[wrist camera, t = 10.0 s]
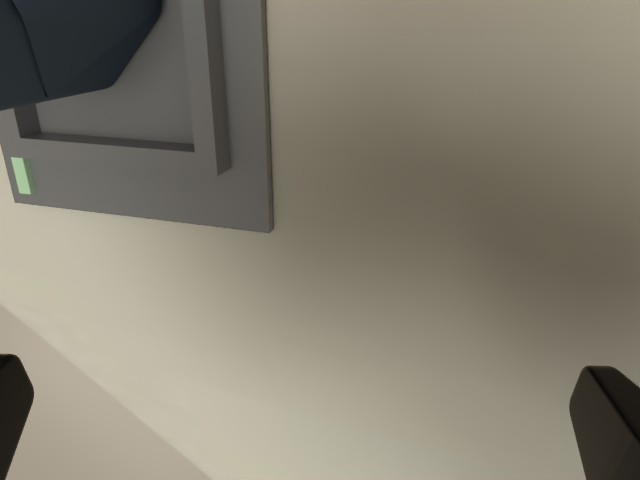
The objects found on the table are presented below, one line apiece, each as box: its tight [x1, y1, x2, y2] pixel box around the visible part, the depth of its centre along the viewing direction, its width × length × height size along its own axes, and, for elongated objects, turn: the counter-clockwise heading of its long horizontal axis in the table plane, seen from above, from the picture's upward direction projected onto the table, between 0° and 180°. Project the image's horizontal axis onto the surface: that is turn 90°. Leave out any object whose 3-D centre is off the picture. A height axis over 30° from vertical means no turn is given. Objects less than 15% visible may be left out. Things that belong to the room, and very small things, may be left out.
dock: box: [0, 0, 273, 233], centre depth 18 cm, size 14×12×2 cm
